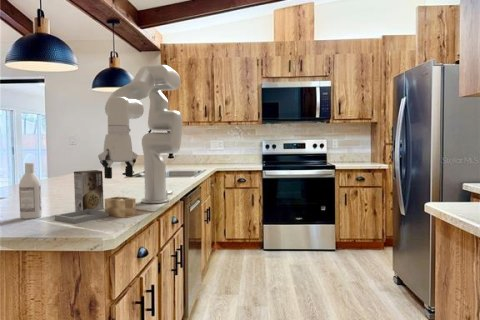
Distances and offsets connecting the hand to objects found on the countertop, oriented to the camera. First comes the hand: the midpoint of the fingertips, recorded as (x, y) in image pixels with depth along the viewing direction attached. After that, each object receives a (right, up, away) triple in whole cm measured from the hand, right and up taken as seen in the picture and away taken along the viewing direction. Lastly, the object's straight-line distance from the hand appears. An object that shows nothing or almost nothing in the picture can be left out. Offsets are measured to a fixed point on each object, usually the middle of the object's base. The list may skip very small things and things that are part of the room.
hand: (118, 177), depth 141 cm
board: (+3, -14, +4) cm, 15 cm away
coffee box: (-16, -14, +12) cm, 24 cm away
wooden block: (0, -14, +1) cm, 14 cm away
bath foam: (-32, -15, 0) cm, 35 cm away
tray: (-12, -15, -4) cm, 19 cm away
